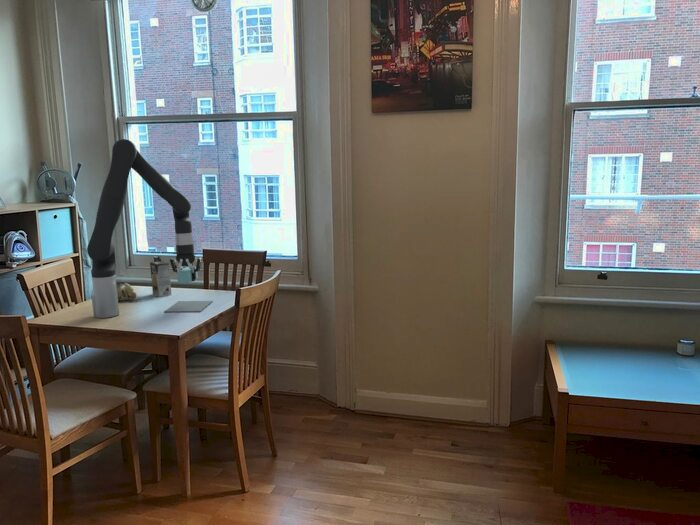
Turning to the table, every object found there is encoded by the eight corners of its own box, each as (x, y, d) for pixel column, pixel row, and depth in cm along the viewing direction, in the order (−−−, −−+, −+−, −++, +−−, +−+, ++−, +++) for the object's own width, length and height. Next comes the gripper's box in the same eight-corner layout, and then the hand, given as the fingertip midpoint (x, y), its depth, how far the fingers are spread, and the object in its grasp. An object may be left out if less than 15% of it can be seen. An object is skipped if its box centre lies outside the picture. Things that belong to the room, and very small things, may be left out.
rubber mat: (164, 312, 238) (164, 311, 238) (178, 302, 255) (178, 301, 255) (200, 312, 237) (200, 310, 237) (212, 301, 255) (212, 300, 255)
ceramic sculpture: (135, 277, 270) (135, 285, 256) (137, 294, 272) (136, 303, 258) (112, 280, 266) (110, 288, 253) (114, 297, 269) (112, 306, 255)
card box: (187, 277, 251) (177, 283, 239) (186, 267, 250) (177, 272, 239) (197, 277, 251) (189, 283, 239) (197, 266, 250) (188, 272, 238)
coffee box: (152, 294, 273) (149, 262, 270) (164, 292, 277) (162, 260, 275) (159, 297, 266) (156, 264, 264) (172, 295, 270) (169, 262, 268)
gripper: (165, 244, 238) (168, 283, 241) (197, 244, 237) (200, 282, 240) (171, 242, 245) (174, 279, 248) (203, 241, 245) (205, 279, 248)
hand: (187, 280), depth 244 cm, fingers closed on card box, 5 cm apart
